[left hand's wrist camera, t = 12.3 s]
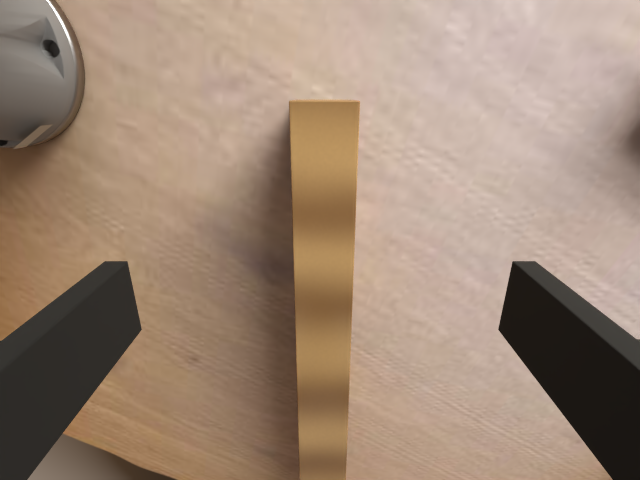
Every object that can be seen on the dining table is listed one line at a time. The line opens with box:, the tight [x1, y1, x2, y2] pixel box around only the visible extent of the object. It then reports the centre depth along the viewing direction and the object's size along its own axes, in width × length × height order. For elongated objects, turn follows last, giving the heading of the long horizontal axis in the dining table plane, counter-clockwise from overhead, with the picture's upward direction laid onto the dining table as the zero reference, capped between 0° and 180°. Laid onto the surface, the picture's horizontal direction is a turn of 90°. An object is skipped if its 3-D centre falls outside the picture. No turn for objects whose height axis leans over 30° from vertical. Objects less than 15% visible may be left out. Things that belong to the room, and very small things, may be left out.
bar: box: [289, 100, 360, 480], centre depth 40 cm, size 54×5×8 cm, turn 0°
